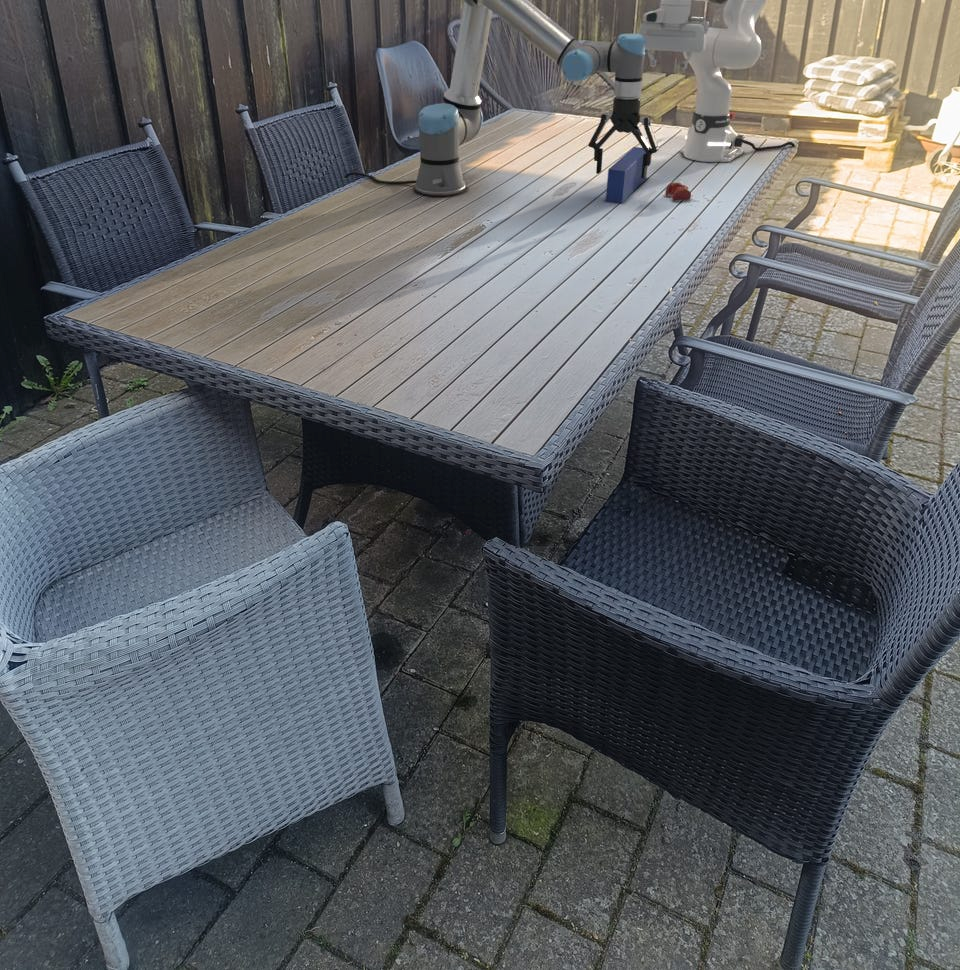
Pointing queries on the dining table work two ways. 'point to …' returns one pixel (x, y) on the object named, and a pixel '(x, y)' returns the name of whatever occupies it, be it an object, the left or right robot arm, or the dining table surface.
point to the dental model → (678, 191)
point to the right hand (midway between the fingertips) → (668, 67)
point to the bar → (625, 175)
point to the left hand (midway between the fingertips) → (621, 174)
